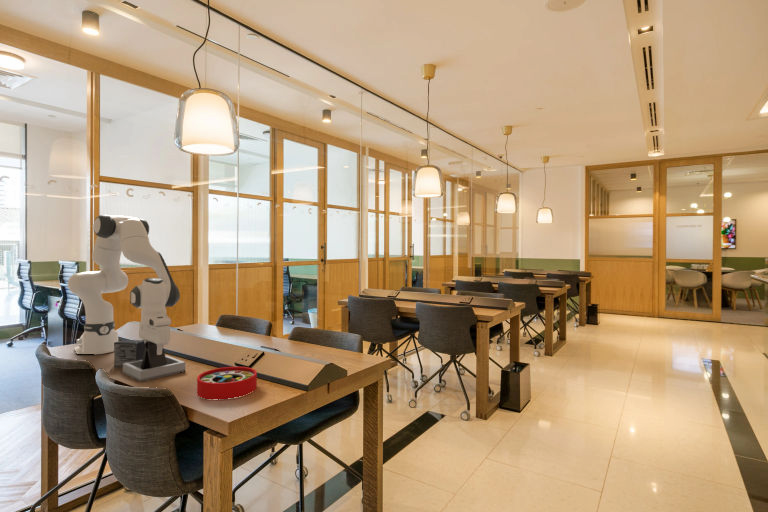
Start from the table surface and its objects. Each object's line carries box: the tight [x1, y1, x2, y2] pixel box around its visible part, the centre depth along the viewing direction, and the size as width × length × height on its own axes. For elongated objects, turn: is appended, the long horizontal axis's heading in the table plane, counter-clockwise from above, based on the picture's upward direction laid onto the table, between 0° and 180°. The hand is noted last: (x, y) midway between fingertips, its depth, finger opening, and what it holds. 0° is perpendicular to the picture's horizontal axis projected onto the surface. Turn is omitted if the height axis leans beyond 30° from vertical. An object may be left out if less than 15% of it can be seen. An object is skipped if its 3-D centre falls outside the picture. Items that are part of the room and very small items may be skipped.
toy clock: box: [196, 366, 258, 401], centre depth 149 cm, size 20×6×20 cm
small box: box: [113, 339, 145, 368], centre depth 179 cm, size 11×6×10 cm, turn 84°
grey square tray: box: [122, 354, 186, 383], centre depth 169 cm, size 17×17×4 cm
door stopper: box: [141, 341, 167, 370], centre depth 169 cm, size 9×6×12 cm, turn 59°
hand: (153, 352), depth 169 cm, fingers open, 8 cm apart
